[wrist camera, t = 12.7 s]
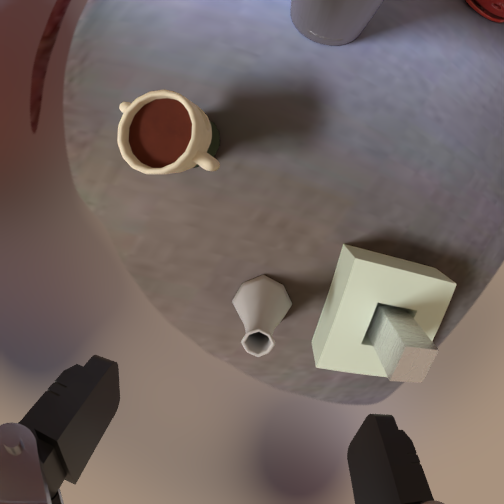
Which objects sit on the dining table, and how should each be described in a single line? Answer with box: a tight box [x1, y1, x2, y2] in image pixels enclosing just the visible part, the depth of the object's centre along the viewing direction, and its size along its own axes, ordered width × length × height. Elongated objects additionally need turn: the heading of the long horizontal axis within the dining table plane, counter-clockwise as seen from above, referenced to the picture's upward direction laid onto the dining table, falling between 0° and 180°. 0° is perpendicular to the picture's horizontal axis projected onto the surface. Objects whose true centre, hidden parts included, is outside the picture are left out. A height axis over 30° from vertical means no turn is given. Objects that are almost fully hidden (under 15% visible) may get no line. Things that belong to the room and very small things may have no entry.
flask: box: [232, 275, 292, 357], centre depth 35 cm, size 7×7×10 cm
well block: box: [312, 244, 457, 377], centre depth 36 cm, size 14×14×6 cm
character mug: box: [117, 90, 220, 174], centre depth 29 cm, size 11×7×13 cm, turn 53°
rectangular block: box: [366, 303, 438, 383], centre depth 32 cm, size 4×4×14 cm
